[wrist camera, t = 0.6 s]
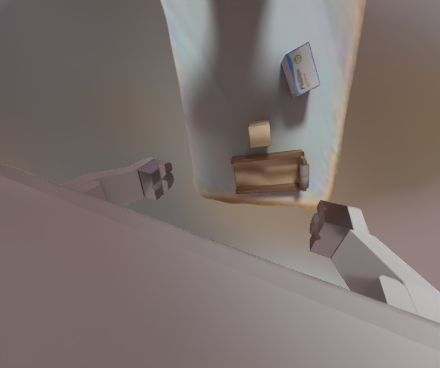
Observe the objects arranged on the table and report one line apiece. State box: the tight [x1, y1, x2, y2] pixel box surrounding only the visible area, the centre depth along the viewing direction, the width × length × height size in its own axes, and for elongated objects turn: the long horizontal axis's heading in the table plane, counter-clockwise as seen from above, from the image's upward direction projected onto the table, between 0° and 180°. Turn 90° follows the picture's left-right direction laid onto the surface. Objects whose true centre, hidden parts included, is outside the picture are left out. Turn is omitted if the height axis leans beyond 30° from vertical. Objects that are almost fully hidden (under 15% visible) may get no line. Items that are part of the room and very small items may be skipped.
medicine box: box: [281, 42, 320, 96], centre depth 38 cm, size 8×4×9 cm, turn 27°
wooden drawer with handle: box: [231, 150, 309, 194], centre depth 50 cm, size 10×19×7 cm, turn 100°
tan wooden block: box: [248, 119, 271, 148], centre depth 44 cm, size 4×4×10 cm
